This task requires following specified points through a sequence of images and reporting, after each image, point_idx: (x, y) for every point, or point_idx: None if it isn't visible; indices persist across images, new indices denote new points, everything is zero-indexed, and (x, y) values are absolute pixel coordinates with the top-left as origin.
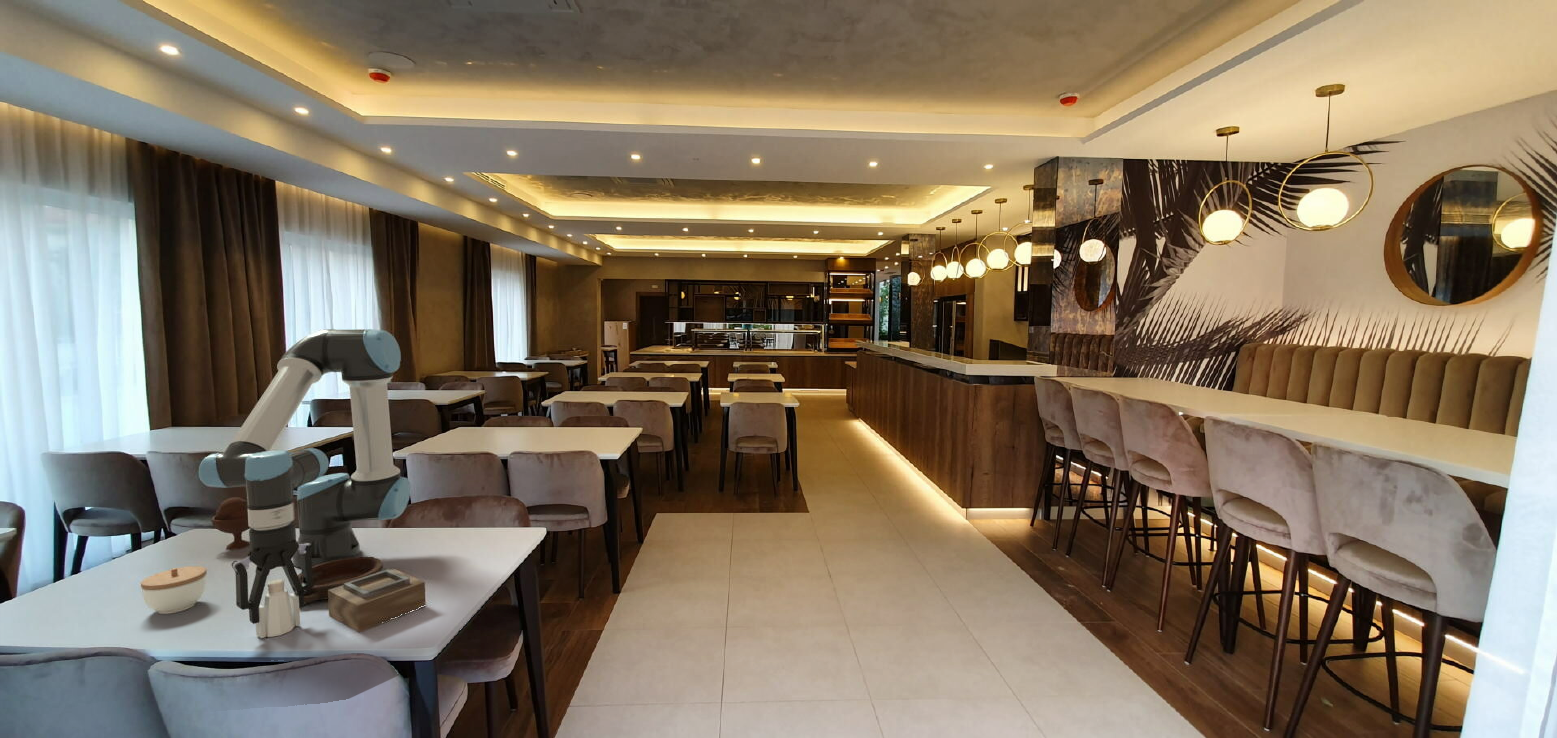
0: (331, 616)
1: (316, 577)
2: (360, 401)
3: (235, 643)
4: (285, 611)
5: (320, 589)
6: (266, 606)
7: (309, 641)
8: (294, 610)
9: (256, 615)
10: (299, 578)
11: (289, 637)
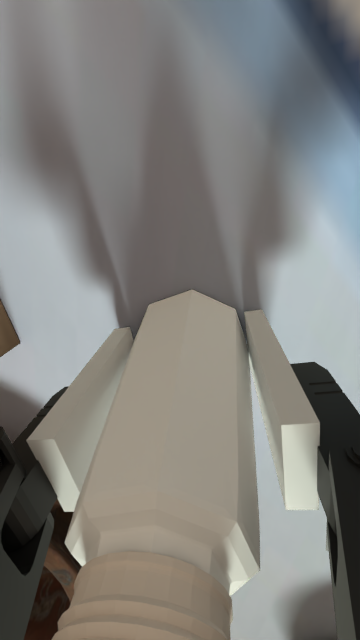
0: (9, 323)
1: (47, 596)
2: None
3: (340, 355)
4: (144, 358)
5: None
6: (247, 447)
7: (92, 87)
8: (105, 377)
9: (314, 396)
10: None
11: (166, 238)
